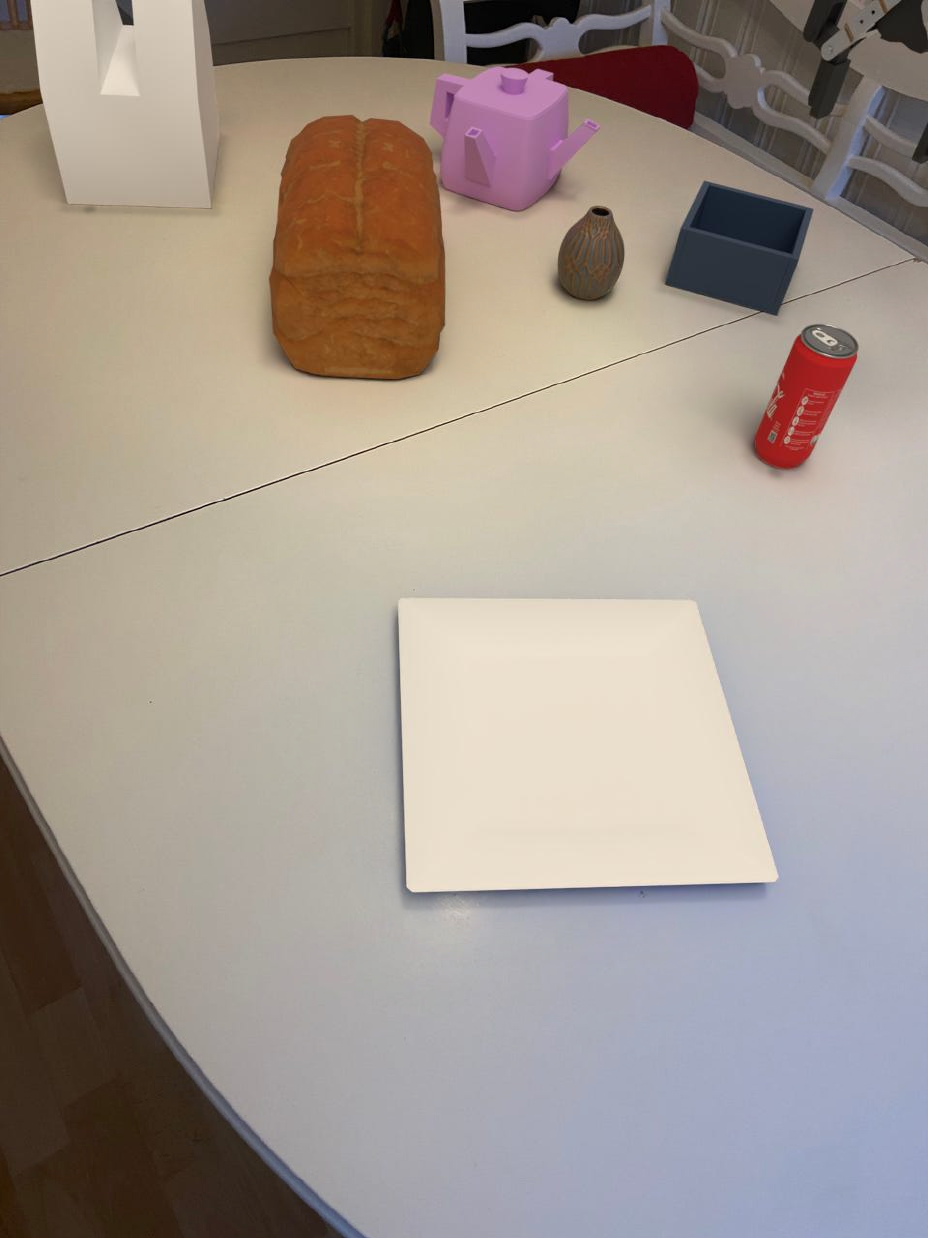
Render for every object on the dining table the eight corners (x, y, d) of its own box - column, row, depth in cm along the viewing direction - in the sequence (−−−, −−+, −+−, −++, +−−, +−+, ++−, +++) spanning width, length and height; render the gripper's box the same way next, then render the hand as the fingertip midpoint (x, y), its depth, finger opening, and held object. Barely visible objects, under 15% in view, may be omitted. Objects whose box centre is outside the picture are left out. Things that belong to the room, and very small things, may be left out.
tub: (792, 262, 108) (814, 208, 103) (777, 315, 100) (798, 259, 95) (688, 234, 110) (704, 180, 105) (664, 284, 102) (680, 227, 97)
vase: (546, 298, 98) (559, 217, 92) (560, 267, 103) (575, 188, 96) (609, 313, 98) (627, 234, 91) (621, 282, 102) (640, 203, 95)
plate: (396, 613, 69) (398, 595, 67) (688, 615, 71) (696, 597, 70) (405, 905, 54) (406, 890, 53) (769, 894, 57) (781, 880, 55)
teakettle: (537, 145, 122) (552, 40, 113) (591, 207, 113) (613, 98, 103) (415, 153, 118) (420, 45, 108) (460, 219, 108) (470, 106, 98)
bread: (434, 239, 104) (445, 88, 92) (444, 384, 87) (459, 221, 75) (289, 231, 102) (280, 76, 90) (270, 377, 85) (256, 209, 73)
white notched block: (92, 127, 114) (39, -127, 95) (220, 133, 116) (193, -115, 97) (67, 203, 102) (1, -71, 83) (211, 208, 104) (178, -58, 85)
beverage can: (781, 479, 83) (834, 365, 73) (739, 446, 85) (785, 332, 76) (818, 460, 85) (874, 347, 76) (776, 428, 87) (825, 315, 78)
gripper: (1127, -122, 54) (982, 163, 66) (909, -180, 60) (814, 91, 72) (1075, -109, 50) (932, 190, 62) (849, -172, 56) (759, 112, 68)
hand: (868, 137), depth 67 cm, fingers open, 8 cm apart
